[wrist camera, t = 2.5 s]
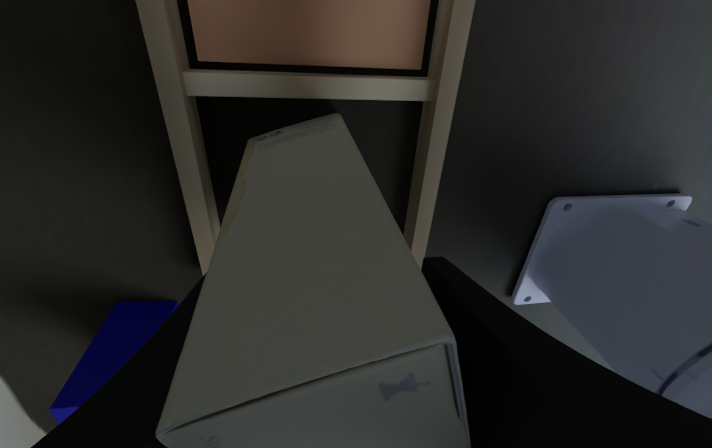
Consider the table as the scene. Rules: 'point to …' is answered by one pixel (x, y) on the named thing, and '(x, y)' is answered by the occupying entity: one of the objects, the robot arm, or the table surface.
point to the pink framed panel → (306, 78)
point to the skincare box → (314, 314)
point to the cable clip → (111, 351)
